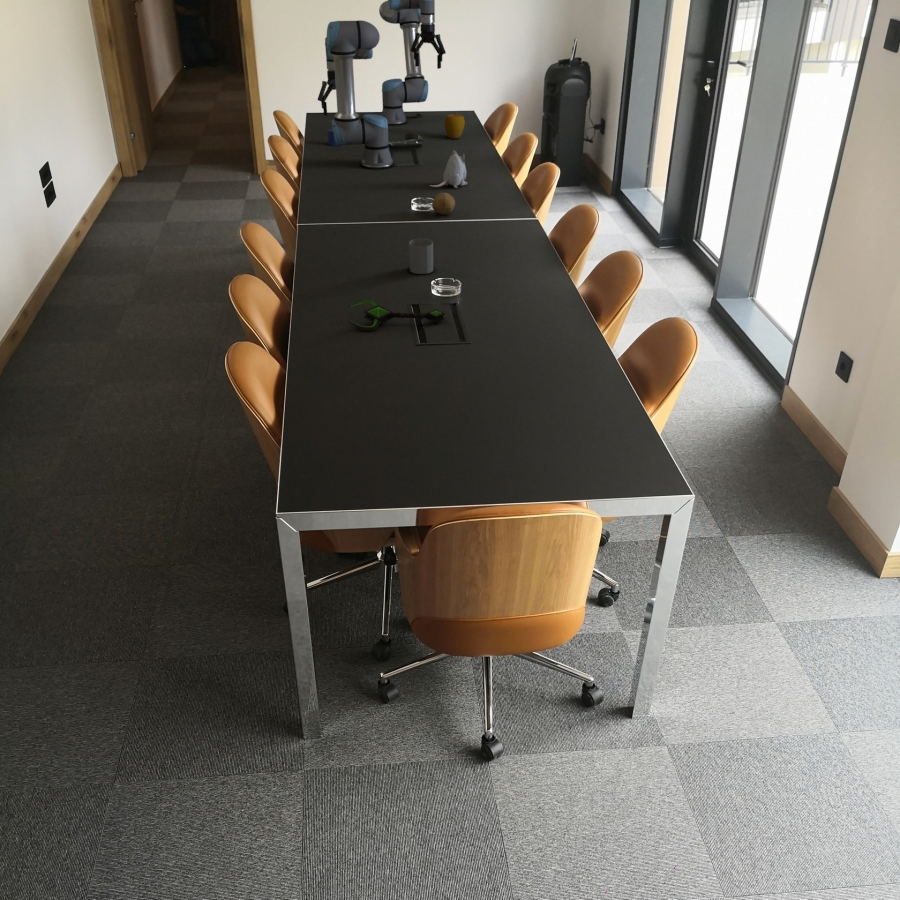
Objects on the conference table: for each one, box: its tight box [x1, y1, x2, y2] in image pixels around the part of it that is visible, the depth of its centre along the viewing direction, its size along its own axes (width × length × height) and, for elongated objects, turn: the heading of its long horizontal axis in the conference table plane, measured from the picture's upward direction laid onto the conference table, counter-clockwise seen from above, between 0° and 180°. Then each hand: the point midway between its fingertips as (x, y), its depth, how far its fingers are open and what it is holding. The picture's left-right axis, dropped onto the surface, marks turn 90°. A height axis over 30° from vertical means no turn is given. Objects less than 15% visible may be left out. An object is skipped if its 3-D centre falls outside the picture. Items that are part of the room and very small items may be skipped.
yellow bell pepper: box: [444, 113, 466, 140], centre depth 472 cm, size 11×11×13 cm
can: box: [327, 128, 339, 147], centre depth 462 cm, size 6×6×7 cm
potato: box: [431, 192, 456, 216], centre depth 360 cm, size 10×14×8 cm
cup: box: [408, 237, 434, 275], centre depth 305 cm, size 8×8×10 cm
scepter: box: [348, 298, 446, 331], centre depth 269 cm, size 6×13×30 cm
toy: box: [428, 149, 468, 189], centre depth 390 cm, size 9×24×15 cm, turn 137°
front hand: (337, 113), depth 454 cm, fingers open, 13 cm apart
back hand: (428, 67), depth 464 cm, fingers open, 13 cm apart
